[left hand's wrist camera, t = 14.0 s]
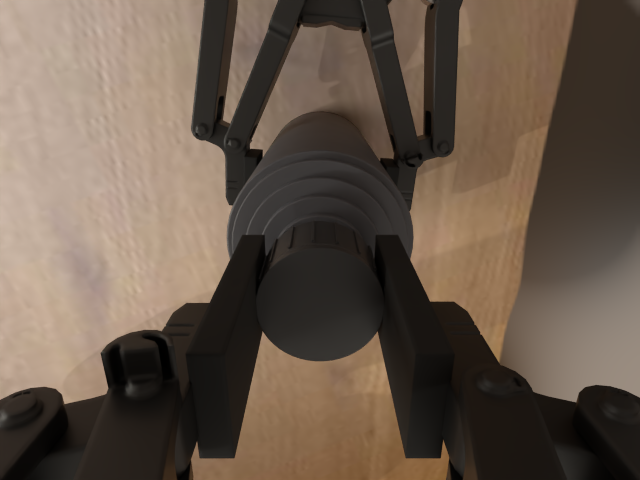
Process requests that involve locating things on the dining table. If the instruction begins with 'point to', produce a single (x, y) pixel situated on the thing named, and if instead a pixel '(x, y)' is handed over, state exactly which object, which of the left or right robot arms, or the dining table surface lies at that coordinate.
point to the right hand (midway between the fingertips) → (314, 256)
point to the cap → (319, 292)
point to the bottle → (320, 186)
